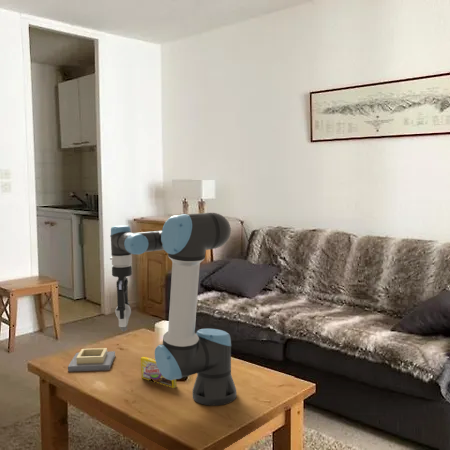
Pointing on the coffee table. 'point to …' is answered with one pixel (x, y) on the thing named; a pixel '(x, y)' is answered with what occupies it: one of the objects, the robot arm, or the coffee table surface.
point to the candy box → (154, 372)
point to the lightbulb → (128, 312)
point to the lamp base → (92, 360)
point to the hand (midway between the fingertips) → (123, 324)
